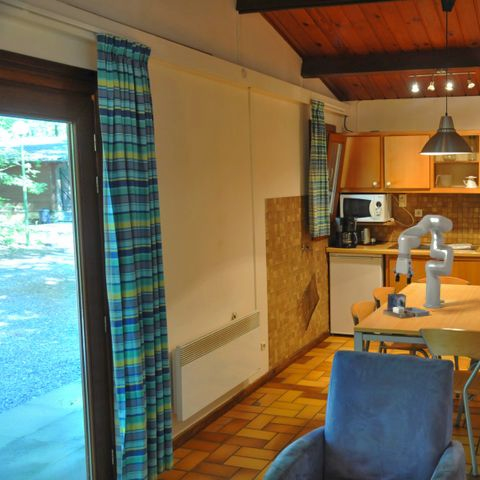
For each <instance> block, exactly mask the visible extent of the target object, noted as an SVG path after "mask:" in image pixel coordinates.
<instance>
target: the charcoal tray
mask: <svg viewBox="0 0 480 480" xmlns="http://www.w3.org/2000/svg"><path fill="white" fill-rule="evenodd" d="M404 310H405V311H409V312H413V313H414V317H415V318H420V317H425V316H426V317H427V316H429V315H430V310H426V309H422V308H418V307H414V306H409V307H405V308H404Z"/></svg>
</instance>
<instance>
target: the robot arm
mask: <svg viewBox="0 0 480 480" xmlns="http://www.w3.org/2000/svg"><path fill="white" fill-rule="evenodd" d="M453 225H454V224H453V221H452V220H451V219H450V218H447V217H445V216H443V215H440V214H427V215H424V216H423V217H422V218H421V220H420V221H419V222H418V223H417V224H416V225H413V226H412V227H409V228H407V229H404V231H402V232H401V233H400V235H399V236H398V238H397V244H398V252H397V253H398V254H397V256H398V257H397V258H396V265H395V267H393V268H392V270H393V273H394V276H395V279H394V280H395V283H398V282H401V275H402V274H403V275H406V284H407V285H411V284H412V278H413V277H414V274H415V271H414V270H413V262H412V261H413V259H412V258H411V257H412V255H411V249H412V248H413V249H414V248H415V249H416V248H419V246H421V238H420V237H423V236H425V235H427V234H428V233H429V232H430V235H431V240H430V241H431V242H430V248H429V257H430V258H433V259H430V260H427V261H426V262H425V265H424V269H425V275H426V276H425V277H426V279H425V281H426V282H425V302H424V303H423V304H422V306H423V307H424V308H428V309H440V308H441V309H442V307H443V305H442V304H443V303H445V302H446V301H445V300H444V299H441V286H442V285H441V284H442V283H441V278H440V276H444V277H448V276H450V275H451V274H452V270H453V263H454V257H455V251H454V248H453V246H451V245H446V244H445V235H444V233H443V232H445V233H448V232H451V230H452V229H453ZM435 259H438V260H435ZM442 260H443V261H442ZM400 274H401V275H400Z"/></svg>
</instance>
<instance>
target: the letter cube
mask: <svg viewBox="0 0 480 480" xmlns="http://www.w3.org/2000/svg"><path fill="white" fill-rule="evenodd" d="M393 312H395V313H399V314H404V308H403V307H393Z"/></svg>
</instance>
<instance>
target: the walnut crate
mask: <svg viewBox="0 0 480 480" xmlns="http://www.w3.org/2000/svg"><path fill="white" fill-rule="evenodd" d="M382 312H383V313H382V315H385V316H388V317H389V316H390V317H393V318H398V319H401V320H402V319H408V318H413V317H414V313H413V312H409V311H405V310H404V314H399V313H395V312H393V309H387V308H386V309H383V310H382Z"/></svg>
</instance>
